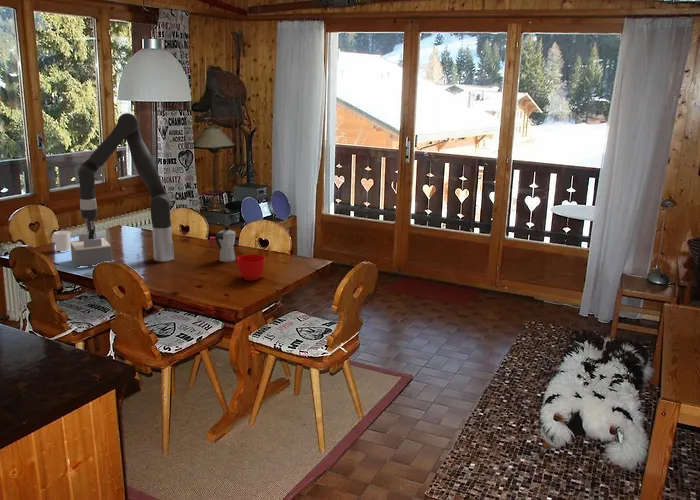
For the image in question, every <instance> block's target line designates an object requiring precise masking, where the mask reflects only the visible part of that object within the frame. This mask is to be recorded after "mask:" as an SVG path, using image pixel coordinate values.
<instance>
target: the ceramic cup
mask: <svg viewBox="0 0 700 500" xmlns="http://www.w3.org/2000/svg"><path fill="white" fill-rule="evenodd" d="M265 263H266V257H265V256H263V255H260V254H254V253H253V254H243V255H239V256H235V264H236V265H237V269H238V272H239V274H240V276H241V277H242V278H243V279H244V280H246V281H257V280H258V279H259V278H260V277H261V276H262V275H263V273H264V270H265V265H266V264H265Z"/></svg>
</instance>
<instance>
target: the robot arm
mask: <svg viewBox="0 0 700 500" xmlns="http://www.w3.org/2000/svg"><path fill="white" fill-rule="evenodd" d="M124 140H126V143H127V145H128V146H127V147H128V149H129V152H130V155H131V158H132V161H133V165H134V166H135V169H136V172H137V174H138V176H139V177H140V179H141V180H142V182H143V184H144V185H146V188H147V190H148V193H149V196H150V199H151V202H150V207H149V208H150V219H151V220H150V221H151V225H152V226H151V227H152V229H151V230H152V241H153V242H152V245H153V260H154V261H156V262H169V261H172V260H175V252H174V251H175V250H174V241H173V237H172V235H173V234H172V221H171V210H170V209H171V204H172V203H171V198H170V197H169V195H168V194H167V191H166V189H165V187H164V186H163V184H162V181H161V177H160V175H159V172H158V168H157V165H156V163H155V161H154V158H153V156H152V154H151V151H150V150H149V148H148V147H147V145H146V143H145V142H144V139H143V138H142V134H141V131H140V128H139V119H138V118H137V117H136V115H135V114H132V113H130V112H125V113H122V114H120V116H119V117H118V119H117V122H116V125H114V128H113V129H112V131H111V132H110V134H109V135H107V137H106V138H104V140H103V141H102V142H101V143H100V144H99V145H98V146H97V147H96V149H95V150H94V151H93V152H92V153H91V155H90V156H89V157H88V159H86V160H85V161H84V162H83V163H82V164H81V166H80V167H79V168H78V170H77V176H78V181H79V207H80V208H79V209H80V218H82V219H85V221H84V224H85V230H86V233H87V234H88V238H89V239H94V234H95V233H96V231H95V230H96V226H95V225H96V222H95V220H94V219H96V218H97V217H98V215H99V214H98V205H97V203H98V202H97V197H96V189H95V188H96V187H95V183H96V182H95V181H96V180H95V179H96V178H95V173H97V171H98V170H99V168H101V167H103V166H104V165H105V164H106V162H107V161H108V160H109V159H110V158H111V156H112V155H113V154H114V152H115V151H116V150H117V148H118V147H119V145H121V143H122V142H123V141H124Z"/></svg>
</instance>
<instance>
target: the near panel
mask: <svg viewBox="0 0 700 500" xmlns="http://www.w3.org/2000/svg"><path fill="white" fill-rule="evenodd" d="M101 238H102V237H100V238H99V239H98V238H96V239H89V240H83V244H78V245H73V247H74V249H75V250H85V249H94V248H103V247H111V244H110V243H109V242H108V241H107V242H101Z"/></svg>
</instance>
